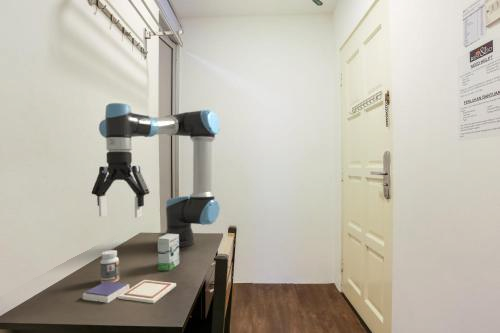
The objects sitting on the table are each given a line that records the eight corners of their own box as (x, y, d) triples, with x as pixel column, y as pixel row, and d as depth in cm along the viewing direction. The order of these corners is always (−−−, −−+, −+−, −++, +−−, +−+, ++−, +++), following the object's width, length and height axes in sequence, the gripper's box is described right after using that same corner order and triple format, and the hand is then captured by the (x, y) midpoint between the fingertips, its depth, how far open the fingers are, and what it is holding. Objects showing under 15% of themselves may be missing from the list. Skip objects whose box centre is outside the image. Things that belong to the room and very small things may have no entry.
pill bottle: (121, 281, 97) (120, 252, 97) (102, 286, 94) (101, 255, 94) (117, 276, 102) (116, 248, 102) (99, 280, 99) (98, 251, 98)
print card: (144, 282, 97) (144, 279, 97) (176, 285, 93) (176, 282, 93) (118, 298, 85) (118, 295, 85) (153, 303, 82) (153, 299, 82)
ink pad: (106, 286, 94) (105, 280, 94) (129, 289, 91) (129, 283, 91) (82, 299, 85) (82, 292, 85) (107, 302, 82) (107, 295, 82)
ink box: (169, 271, 106) (168, 238, 106) (157, 270, 107) (156, 238, 107) (180, 263, 115) (179, 233, 115) (168, 262, 116) (167, 232, 116)
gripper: (78, 152, 94) (80, 217, 95) (145, 149, 88) (147, 219, 88) (96, 153, 102) (97, 213, 102) (159, 150, 95) (160, 215, 95)
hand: (120, 216), depth 95 cm, fingers open, 13 cm apart
